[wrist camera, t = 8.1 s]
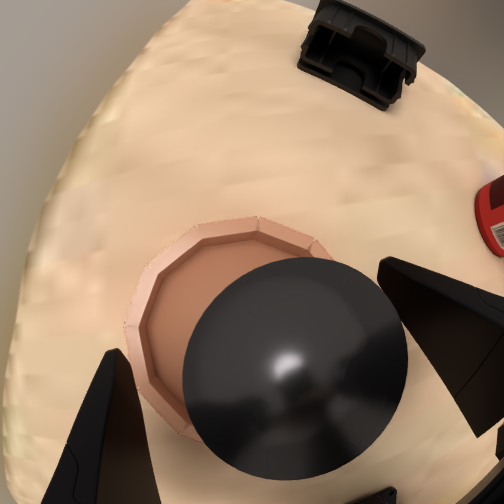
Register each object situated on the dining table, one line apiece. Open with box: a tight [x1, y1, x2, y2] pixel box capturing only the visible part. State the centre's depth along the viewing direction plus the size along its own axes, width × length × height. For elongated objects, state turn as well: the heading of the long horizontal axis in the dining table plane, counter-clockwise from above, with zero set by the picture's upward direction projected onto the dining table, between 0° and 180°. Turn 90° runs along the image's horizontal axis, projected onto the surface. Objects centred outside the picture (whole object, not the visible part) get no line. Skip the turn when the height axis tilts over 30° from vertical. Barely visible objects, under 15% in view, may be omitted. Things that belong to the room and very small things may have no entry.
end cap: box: [297, 0, 426, 111], centre depth 20 cm, size 10×7×7 cm
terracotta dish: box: [124, 216, 334, 442], centre depth 16 cm, size 13×13×2 cm
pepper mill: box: [182, 257, 408, 480], centre depth 11 cm, size 5×5×11 cm
